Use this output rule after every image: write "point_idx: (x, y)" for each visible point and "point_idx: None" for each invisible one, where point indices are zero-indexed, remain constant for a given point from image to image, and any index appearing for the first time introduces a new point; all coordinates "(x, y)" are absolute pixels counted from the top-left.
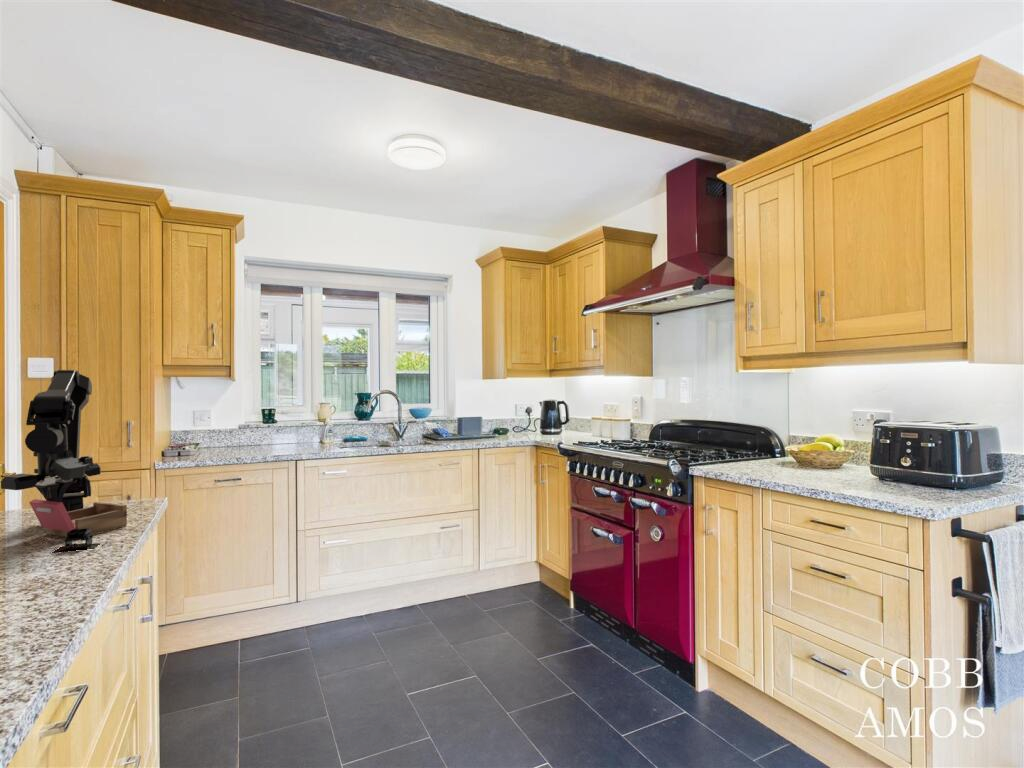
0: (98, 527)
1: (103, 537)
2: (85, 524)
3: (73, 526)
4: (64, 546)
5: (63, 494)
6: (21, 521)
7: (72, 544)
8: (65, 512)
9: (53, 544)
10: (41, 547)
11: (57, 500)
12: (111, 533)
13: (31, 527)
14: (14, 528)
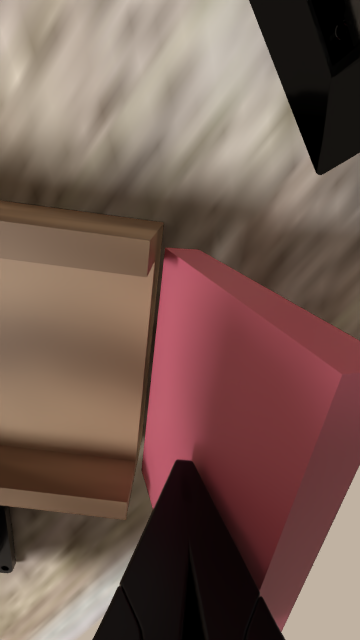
0: (24, 207)
1: (95, 68)
2: (100, 226)
3: (178, 251)
4: (338, 121)
5: (109, 621)
6: (49, 625)
7: (344, 49)
8: (256, 300)
9: (285, 254)
10: (343, 264)
11: (189, 549)
12: (8, 110)
13: (89, 555)
14: (118, 585)
